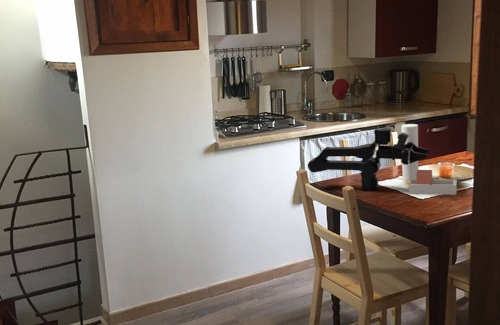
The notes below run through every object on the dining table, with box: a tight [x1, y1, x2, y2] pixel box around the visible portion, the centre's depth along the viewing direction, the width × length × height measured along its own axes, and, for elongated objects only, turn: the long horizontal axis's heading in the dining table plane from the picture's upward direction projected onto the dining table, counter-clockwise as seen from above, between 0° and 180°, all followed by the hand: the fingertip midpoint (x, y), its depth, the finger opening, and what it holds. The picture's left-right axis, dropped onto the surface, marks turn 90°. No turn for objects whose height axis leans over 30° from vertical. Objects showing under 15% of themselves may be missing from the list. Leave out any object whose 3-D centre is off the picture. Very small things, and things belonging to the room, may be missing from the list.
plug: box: [416, 169, 433, 184], centre depth 222 cm, size 6×6×8 cm
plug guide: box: [408, 178, 458, 196], centre depth 221 cm, size 19×9×4 cm, turn 68°
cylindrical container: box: [401, 123, 419, 181], centre depth 240 cm, size 7×7×25 cm
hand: (428, 153), depth 219 cm, fingers open, 9 cm apart
